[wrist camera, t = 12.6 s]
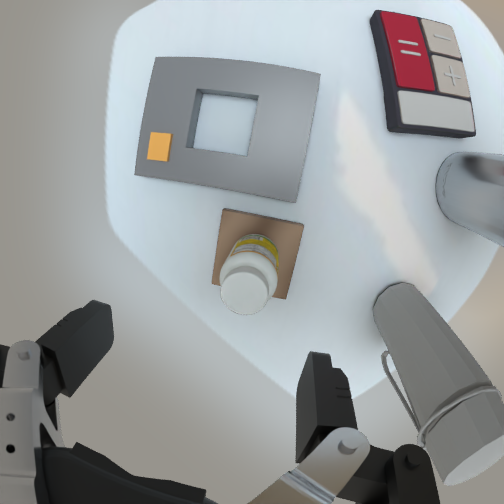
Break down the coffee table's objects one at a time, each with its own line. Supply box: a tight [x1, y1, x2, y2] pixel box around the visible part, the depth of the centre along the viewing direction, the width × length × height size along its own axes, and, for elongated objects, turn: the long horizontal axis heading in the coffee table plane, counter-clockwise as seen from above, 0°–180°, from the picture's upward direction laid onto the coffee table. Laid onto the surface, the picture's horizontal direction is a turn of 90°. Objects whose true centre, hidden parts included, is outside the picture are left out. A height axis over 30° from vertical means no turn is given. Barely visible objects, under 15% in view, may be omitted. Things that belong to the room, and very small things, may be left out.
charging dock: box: [134, 57, 321, 203], centre depth 28 cm, size 18×14×3 cm
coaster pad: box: [212, 208, 304, 299], centre depth 34 cm, size 9×9×1 cm
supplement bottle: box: [220, 234, 279, 315], centre depth 28 cm, size 5×5×10 cm
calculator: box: [370, 10, 476, 138], centre depth 24 cm, size 11×4×15 cm
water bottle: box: [373, 283, 504, 486], centre depth 23 cm, size 9×8×25 cm
